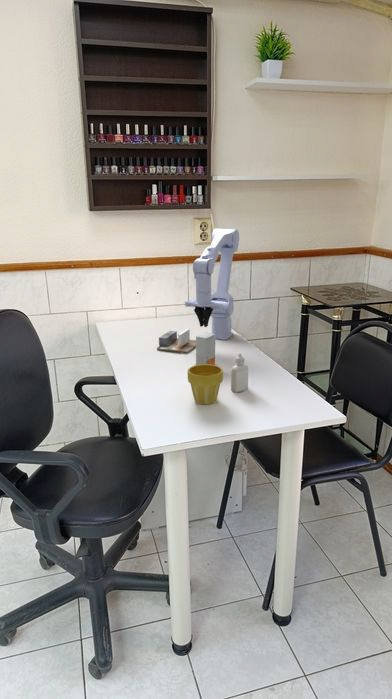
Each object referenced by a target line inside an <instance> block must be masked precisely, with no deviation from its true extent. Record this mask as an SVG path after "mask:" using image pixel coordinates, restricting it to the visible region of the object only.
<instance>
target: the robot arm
mask: <svg viewBox="0 0 392 699" xmlns="http://www.w3.org/2000/svg"><path fill="white" fill-rule="evenodd" d="M211 240H212V242H211V244H210V246H207V247H206V248H204V250H203V252H202V253H201V255H200V257H199V258H196V259H195V260H194V261H193V263H192V272H193V276H194V277H193V278H194V280H195V300H186V301H184V306H185V307H186V308H187V307H191V308H193V307H194V309H193V311H194V313H195V315H196V317H197V319H198V323H199V327H200V328H202V327H204V328H207V327H208V326H209V321H210V318H211V334H215V340H216V339H217V340H218V339H219V340H228V339H229V338H230V337H231V336H232V335H233V334H234V332H233V331H232V317H231V316H232V315H233V313H234V308H235V307H234V306H235V304H234V303H235V302H234V301H235V299H234V297H233V296H232V295H231V294H230V293H229V289H230V287H229V286H230V281H231V274H232V273H231V272H232V266H233V257H234V255H235V254H234V253H235V252H237V251H238V250H239V249H238V248H239V242H240V233H239V230H238V229H237V228H214V229H213V231H212V233H211ZM219 255H220V261H219V270H218V276H217V283H216V289H215V292H213V293H212V275H213V273H214V268H215V267H216V265H215V263H216V262H217V260H218V258H219Z"/></svg>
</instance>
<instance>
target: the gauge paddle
mask: <svg viewBox="0 0 392 699" xmlns="http://www.w3.org/2000/svg"><path fill="white" fill-rule="evenodd" d="M190 333H191V332H190V328H186V329H184V330H183V331H181V332H179V333H177V338H178V346H177V347H175V349H177V348H179V347H180V346H183V345H184V344H186V343H187V342H188V341H190V340H191V338H190V337H191V336H190Z"/></svg>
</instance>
